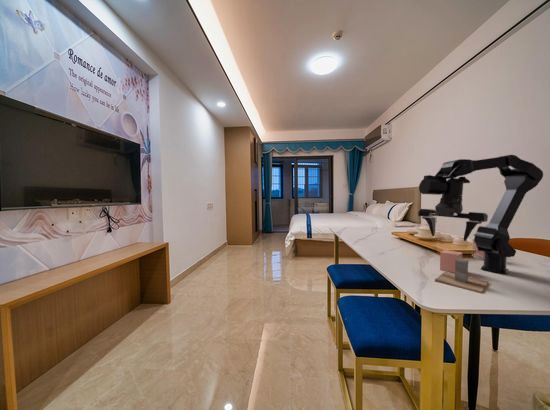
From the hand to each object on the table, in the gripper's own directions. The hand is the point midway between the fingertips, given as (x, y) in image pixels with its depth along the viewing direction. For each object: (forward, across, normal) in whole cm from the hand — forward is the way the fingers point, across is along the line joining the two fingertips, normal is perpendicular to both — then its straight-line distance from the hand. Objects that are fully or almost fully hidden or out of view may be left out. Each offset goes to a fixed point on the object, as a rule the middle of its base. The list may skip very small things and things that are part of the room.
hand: (448, 238), depth 77 cm
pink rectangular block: (+12, +1, +2) cm, 12 cm away
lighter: (+11, +4, +30) cm, 32 cm away
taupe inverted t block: (+12, +6, -9) cm, 16 cm away
